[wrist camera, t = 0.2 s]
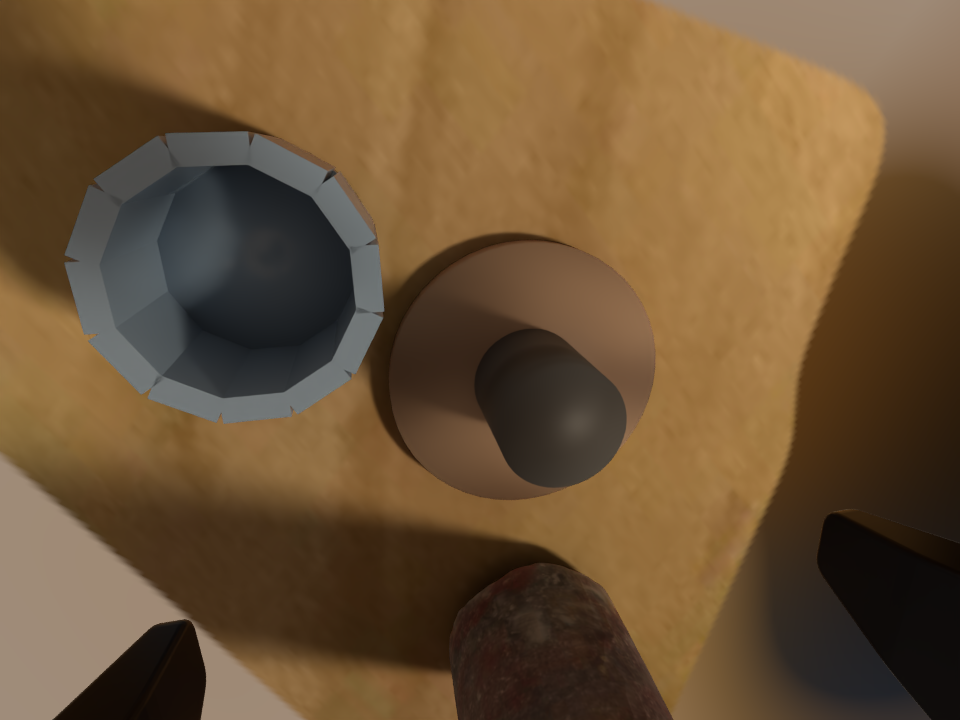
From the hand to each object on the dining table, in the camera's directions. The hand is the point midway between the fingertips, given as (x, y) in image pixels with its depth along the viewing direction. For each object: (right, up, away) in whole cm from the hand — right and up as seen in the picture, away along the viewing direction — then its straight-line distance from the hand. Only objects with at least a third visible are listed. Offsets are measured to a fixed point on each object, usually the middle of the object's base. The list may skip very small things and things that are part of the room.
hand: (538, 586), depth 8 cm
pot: (-8, +6, +10) cm, 15 cm away
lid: (+1, +3, +14) cm, 14 cm away
